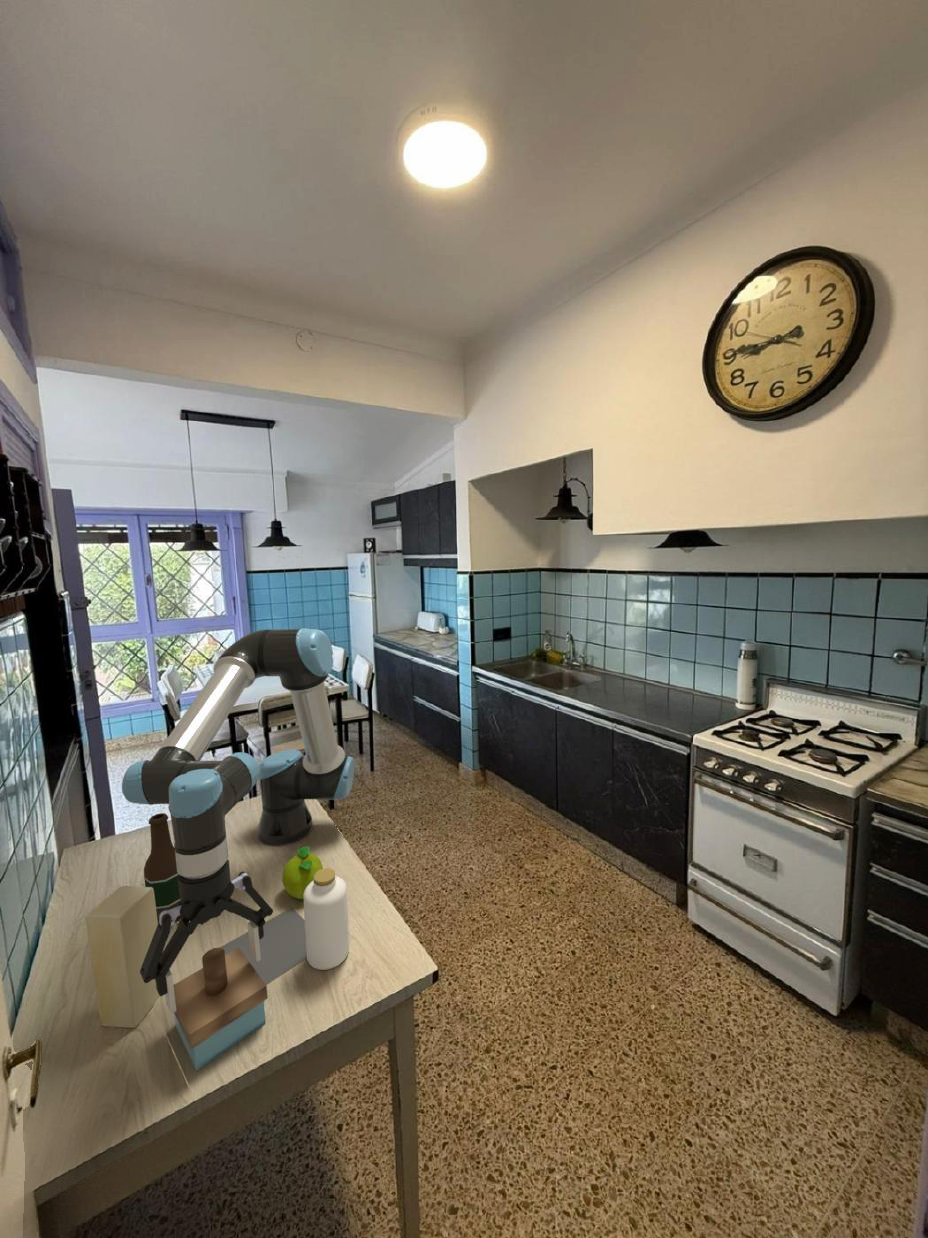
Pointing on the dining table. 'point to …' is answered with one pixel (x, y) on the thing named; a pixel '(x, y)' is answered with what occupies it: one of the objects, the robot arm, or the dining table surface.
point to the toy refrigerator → (123, 955)
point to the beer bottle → (162, 866)
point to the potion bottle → (326, 920)
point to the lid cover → (217, 994)
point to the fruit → (300, 872)
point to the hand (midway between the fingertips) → (215, 981)
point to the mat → (275, 945)
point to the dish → (224, 1036)
